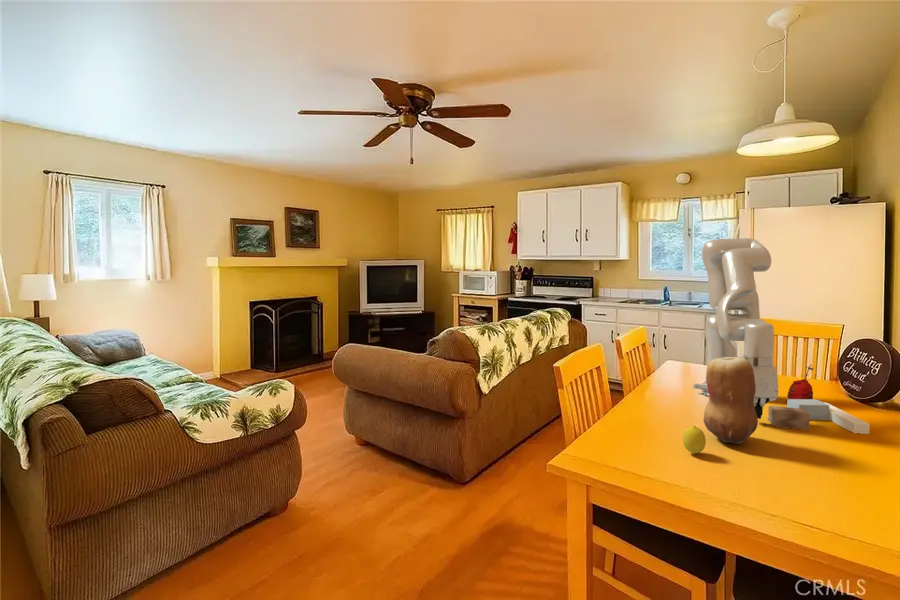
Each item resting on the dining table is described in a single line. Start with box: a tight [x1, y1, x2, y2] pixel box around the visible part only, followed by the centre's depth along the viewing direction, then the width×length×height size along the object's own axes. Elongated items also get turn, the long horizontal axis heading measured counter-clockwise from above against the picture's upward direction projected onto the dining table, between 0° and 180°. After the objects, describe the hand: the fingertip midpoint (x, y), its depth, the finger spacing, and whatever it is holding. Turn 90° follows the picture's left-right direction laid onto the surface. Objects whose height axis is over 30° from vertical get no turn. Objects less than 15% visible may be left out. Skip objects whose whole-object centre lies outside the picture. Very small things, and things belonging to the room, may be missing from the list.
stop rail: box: [822, 401, 871, 435], centre depth 141 cm, size 4×20×3 cm, turn 169°
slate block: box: [786, 398, 830, 421], centre depth 146 cm, size 9×6×5 cm, turn 84°
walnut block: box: [767, 405, 810, 431], centre depth 139 cm, size 9×6×5 cm, turn 66°
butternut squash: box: [702, 357, 759, 445], centre depth 127 cm, size 14×13×25 cm
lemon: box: [682, 425, 707, 455], centre depth 120 cm, size 6×6×8 cm
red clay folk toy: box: [786, 364, 814, 399], centre depth 157 cm, size 8×7×15 cm
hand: (755, 417), depth 141 cm, fingers closed
